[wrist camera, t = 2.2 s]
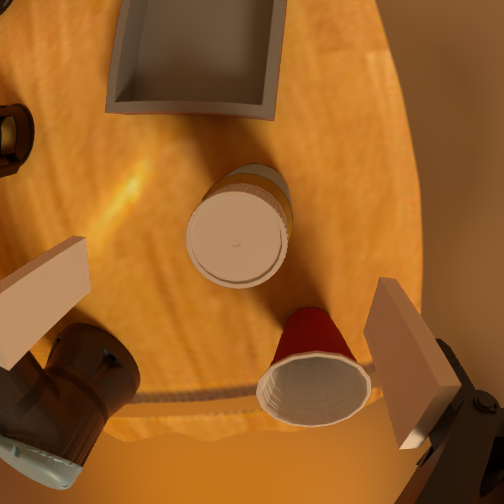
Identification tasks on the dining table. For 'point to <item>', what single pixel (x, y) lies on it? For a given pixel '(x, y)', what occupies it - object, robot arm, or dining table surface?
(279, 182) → the bottle
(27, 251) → the dining table surface
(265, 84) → the crate
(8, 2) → the pen holder
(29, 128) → the french press
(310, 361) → the plastic cup
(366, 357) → the dining table surface
